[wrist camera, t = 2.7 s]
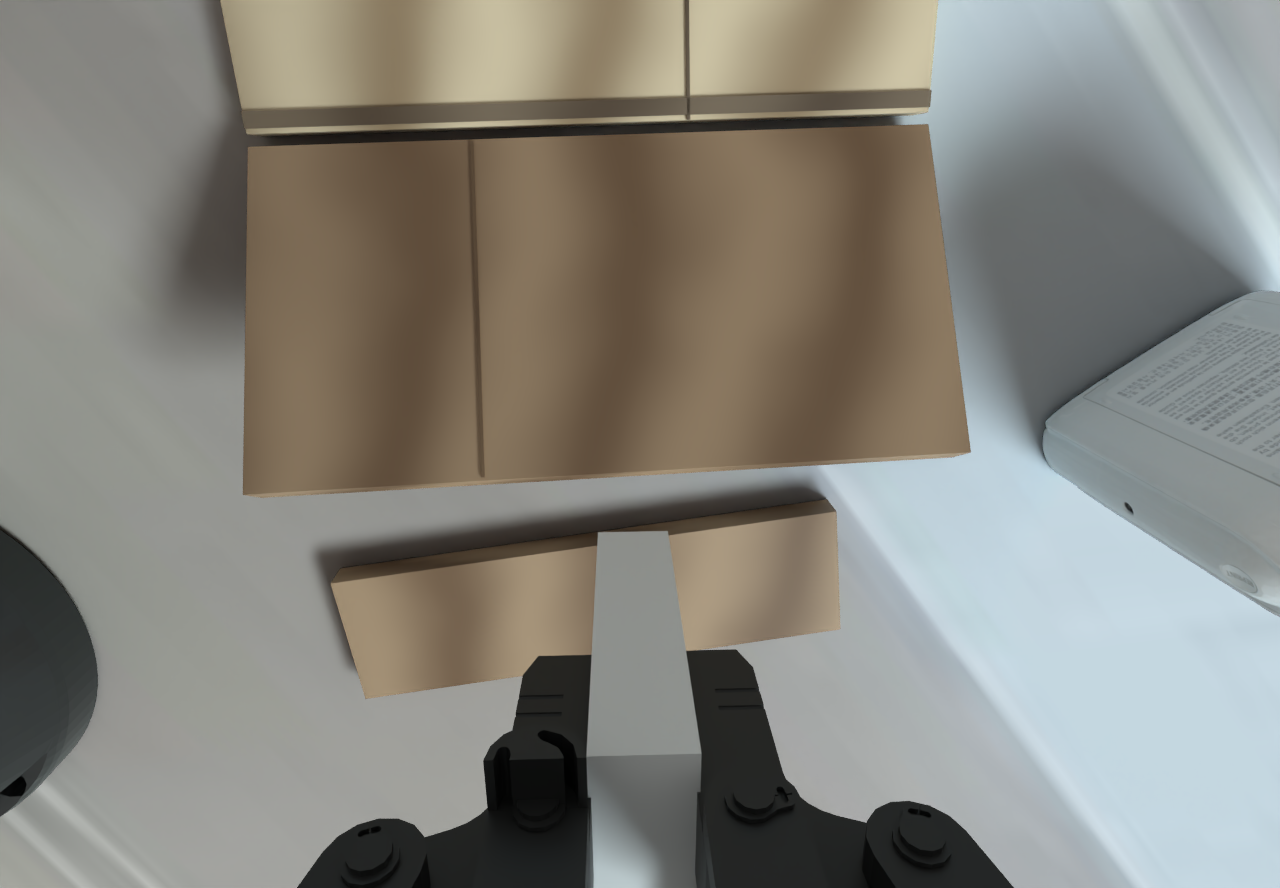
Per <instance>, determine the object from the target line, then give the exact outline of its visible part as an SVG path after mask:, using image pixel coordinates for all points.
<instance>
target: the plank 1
mask: <svg viewBox="0 0 1280 888" xmlns="http://www.w3.org/2000/svg"><path fill="white" fill-rule="evenodd" d="M970 452H971V450H970V442H969V434H968V427H967V419H966V411H965V404H964V396H963V388H962V380H961V373H960V365H959V357H958V350H957V342H956V334H955V326H954V319H953V311H952V303H951V296H950V288H949V280H948V273H947V265H946V257H945V249H944V242H943V234H942V226H941V219H940V211H939V203H938V195H937V188H936V180H935V172H934V165H933V157H932V149H931V141H930V134H929V126H928V124H924V125H893V126H863V127H833V128H802V129H772V130H742V131H711V132H681V133H651V134H620V135H590V136H560V137H529V138H499V139H469V140H439V141H408V142H378V143H348V144H317V145H287V146H257V147H248V176H247V246H246V315H245V385H244V455H243V495H248V496H254V497H260V498H266V497H283V496H300V495H317V494H334V493H351V492H368V491H385V490H402V489H419V488H436V487H453V486H471V485H488V484H505V483H522V482H539V481H556V480H573V479H590V478H607V477H624V476H641V475H658V474H675V473H692V472H709V471H726V470H744V469H761V468H778V467H795V466H812V465H829V464H846V463H863V462H880V461H897V460H914V459H931V458H948V457H955V456H959V455H963V454H966V453H970Z"/></svg>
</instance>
